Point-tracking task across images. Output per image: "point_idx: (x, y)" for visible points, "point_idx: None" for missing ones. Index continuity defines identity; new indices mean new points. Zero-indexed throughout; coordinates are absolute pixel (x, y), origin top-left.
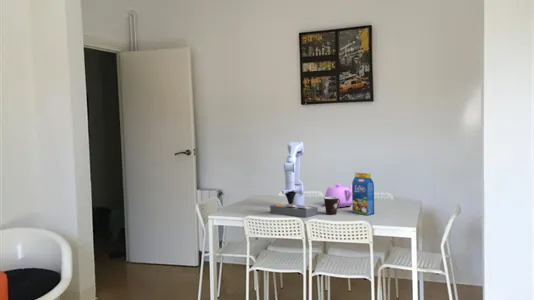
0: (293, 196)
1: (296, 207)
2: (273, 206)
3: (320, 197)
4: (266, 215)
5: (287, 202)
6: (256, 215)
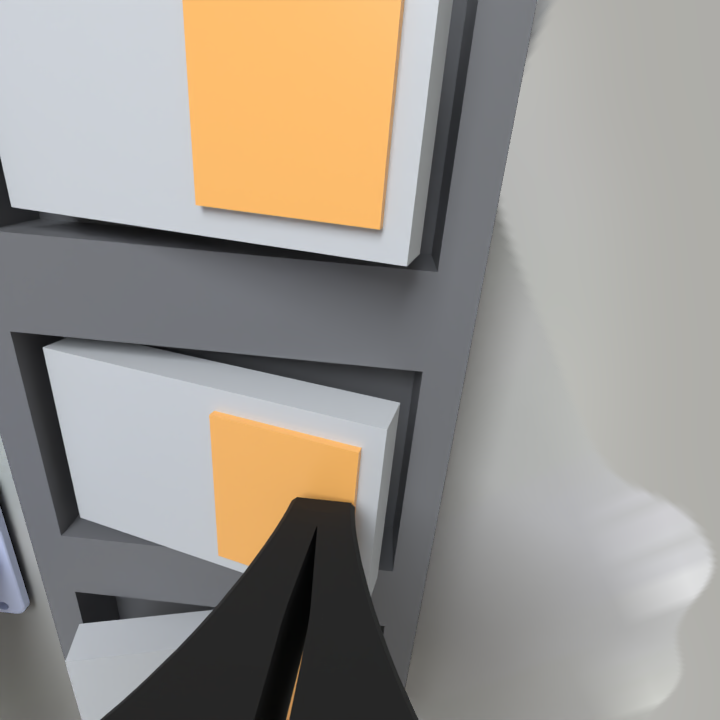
0: (227, 699)
1: (286, 348)
2: None
3: None
4: (564, 631)
5: (123, 670)
6: (604, 710)
